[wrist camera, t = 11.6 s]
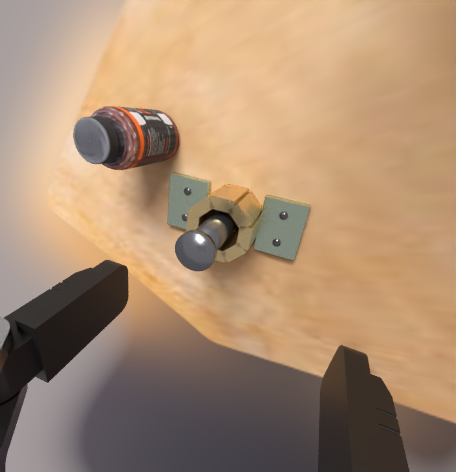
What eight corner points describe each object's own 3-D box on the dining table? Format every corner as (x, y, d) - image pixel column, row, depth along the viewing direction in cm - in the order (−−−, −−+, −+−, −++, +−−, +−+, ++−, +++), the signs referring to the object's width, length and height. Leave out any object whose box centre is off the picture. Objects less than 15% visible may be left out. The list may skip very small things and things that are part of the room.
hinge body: (174, 171, 35) (147, 179, 29) (310, 203, 31) (308, 219, 26) (170, 223, 38) (146, 239, 33) (294, 258, 34) (289, 283, 29)
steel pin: (220, 196, 34) (176, 227, 24) (249, 203, 33) (216, 239, 23) (216, 223, 36) (173, 264, 25) (244, 230, 35) (211, 276, 24)
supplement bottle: (170, 102, 32) (101, 92, 22) (187, 153, 33) (130, 165, 23) (131, 119, 34) (53, 117, 24) (149, 165, 36) (82, 182, 26)
